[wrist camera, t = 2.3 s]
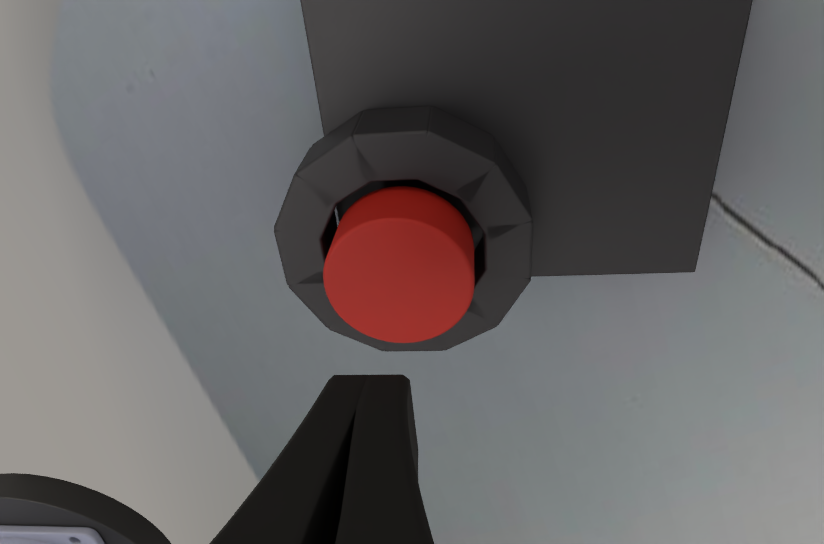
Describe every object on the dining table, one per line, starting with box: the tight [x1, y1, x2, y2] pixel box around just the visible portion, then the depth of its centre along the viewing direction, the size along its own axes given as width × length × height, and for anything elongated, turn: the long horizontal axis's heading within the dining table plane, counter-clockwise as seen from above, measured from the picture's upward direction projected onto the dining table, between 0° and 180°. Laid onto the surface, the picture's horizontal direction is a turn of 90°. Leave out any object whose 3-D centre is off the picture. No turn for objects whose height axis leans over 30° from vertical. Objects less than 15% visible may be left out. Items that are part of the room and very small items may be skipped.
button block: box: [274, 0, 753, 351], centre depth 15 cm, size 11×10×4 cm
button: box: [323, 186, 475, 343], centre depth 15 cm, size 4×4×2 cm
